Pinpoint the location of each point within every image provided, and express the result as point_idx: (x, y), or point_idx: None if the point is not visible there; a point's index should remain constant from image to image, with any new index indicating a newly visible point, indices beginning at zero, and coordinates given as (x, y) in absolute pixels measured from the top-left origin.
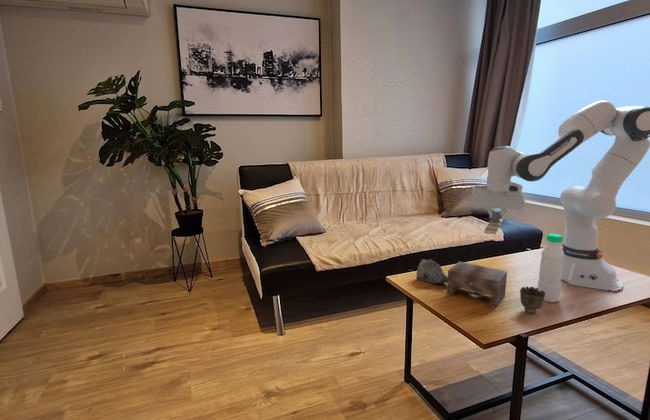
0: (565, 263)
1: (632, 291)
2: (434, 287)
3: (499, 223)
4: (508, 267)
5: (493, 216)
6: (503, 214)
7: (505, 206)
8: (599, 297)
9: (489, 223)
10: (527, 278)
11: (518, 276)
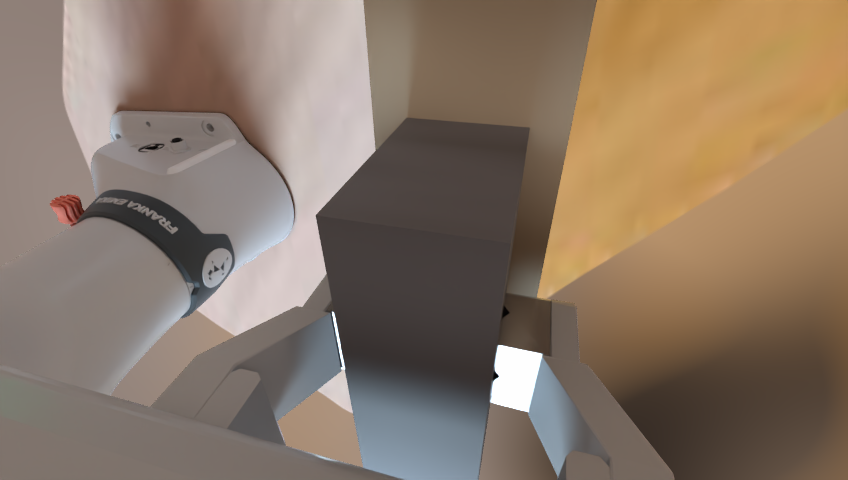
0: (216, 197)
1: (99, 140)
2: None
3: (384, 102)
4: None
5: (479, 187)
6: (293, 314)
7: (70, 468)
8: (127, 24)
9: (579, 32)
10: (371, 118)
11: None
